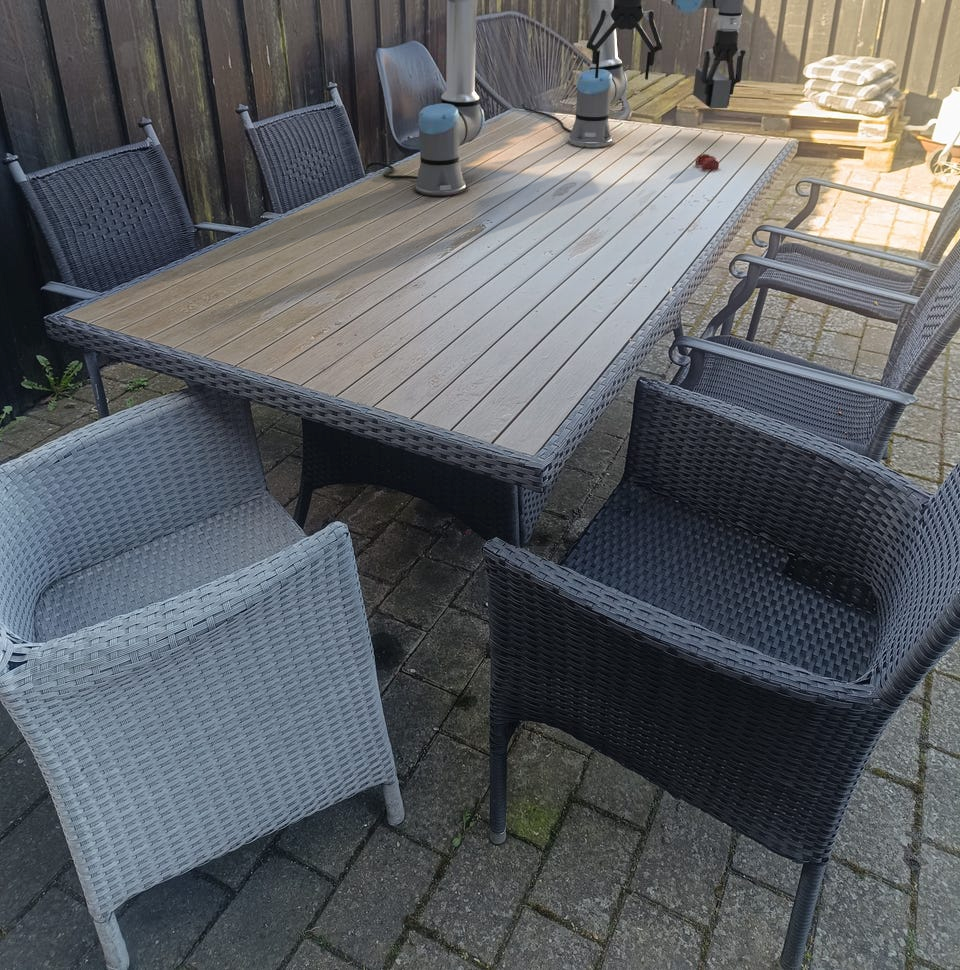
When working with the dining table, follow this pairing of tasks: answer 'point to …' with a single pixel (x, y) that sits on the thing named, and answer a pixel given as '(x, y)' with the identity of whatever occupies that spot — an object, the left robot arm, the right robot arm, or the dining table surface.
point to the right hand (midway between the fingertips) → (716, 104)
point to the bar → (713, 89)
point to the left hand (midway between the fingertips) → (621, 78)
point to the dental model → (707, 162)
